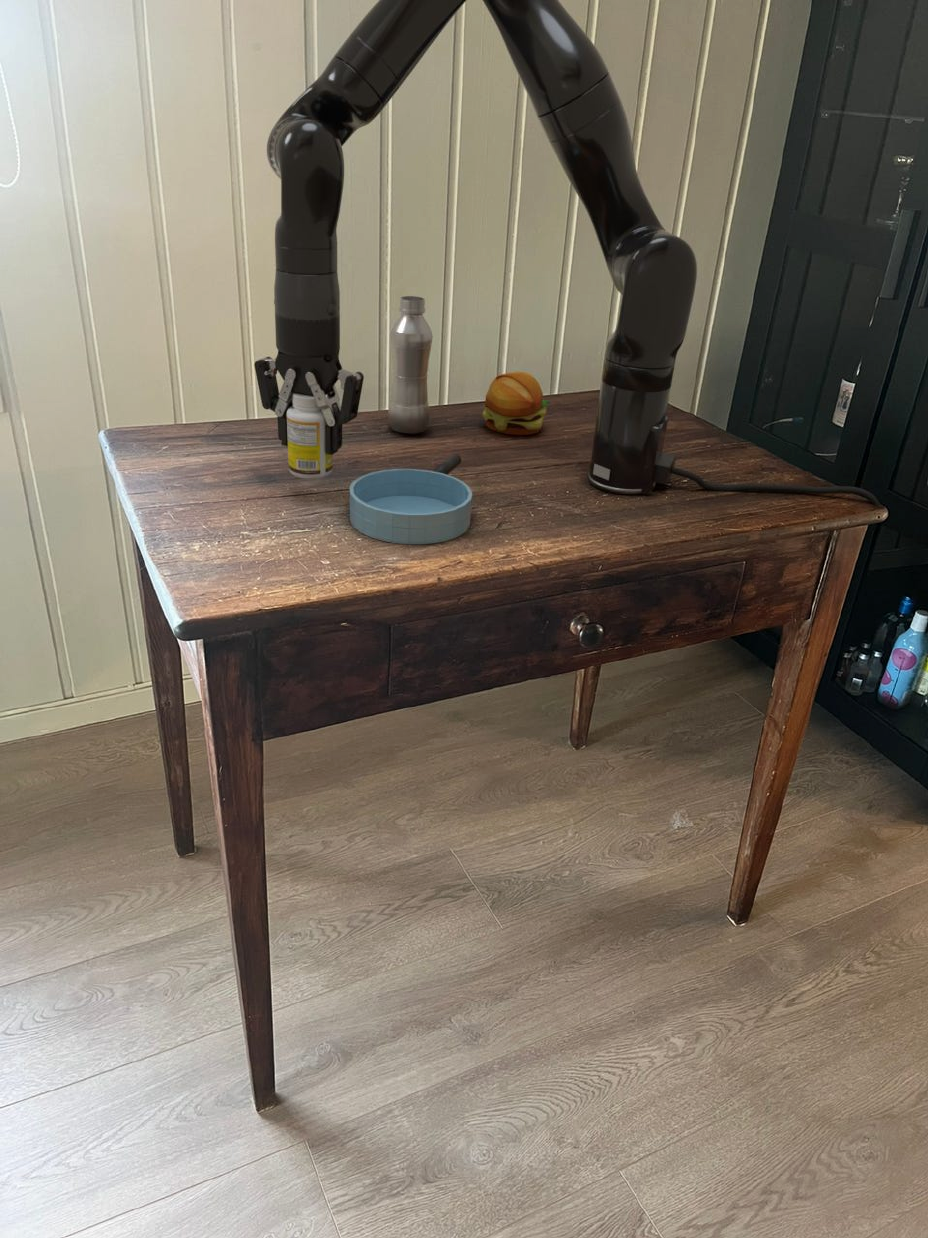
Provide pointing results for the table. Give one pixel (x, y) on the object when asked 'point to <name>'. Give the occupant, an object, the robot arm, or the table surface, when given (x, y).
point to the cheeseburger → (515, 404)
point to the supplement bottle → (307, 439)
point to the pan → (410, 506)
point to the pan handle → (448, 464)
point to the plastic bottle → (410, 367)
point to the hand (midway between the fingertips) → (310, 447)
